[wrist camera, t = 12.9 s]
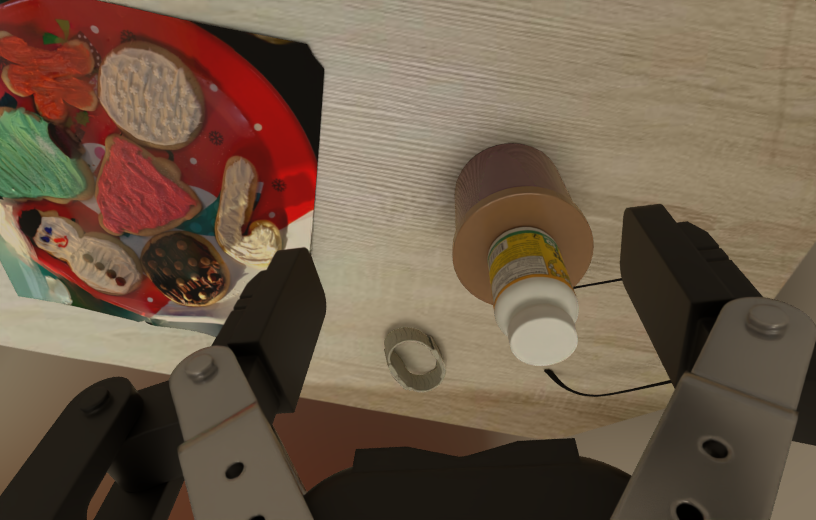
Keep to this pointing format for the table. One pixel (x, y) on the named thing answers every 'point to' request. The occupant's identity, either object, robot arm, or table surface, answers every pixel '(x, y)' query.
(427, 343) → the tan oval ring
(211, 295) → the cookie print placemat
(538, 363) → the supplement bottle
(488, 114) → the table surface
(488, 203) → the jar
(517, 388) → the table surface
